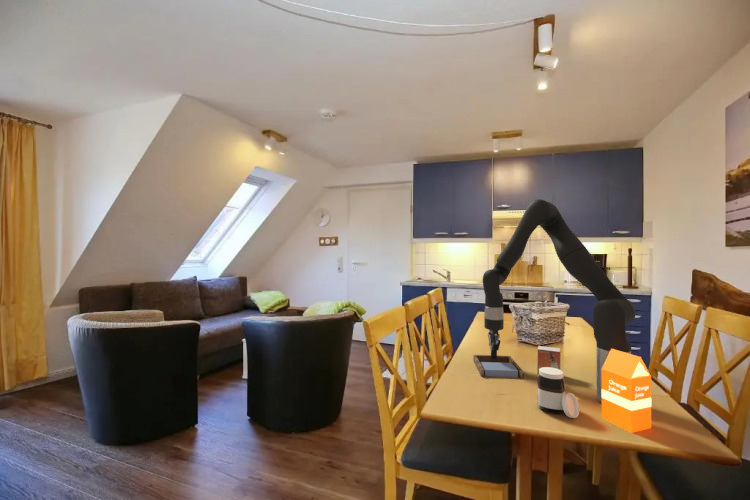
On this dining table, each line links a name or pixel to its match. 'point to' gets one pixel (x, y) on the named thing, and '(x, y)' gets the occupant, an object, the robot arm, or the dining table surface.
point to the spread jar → (555, 393)
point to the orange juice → (626, 391)
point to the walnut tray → (500, 359)
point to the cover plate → (499, 369)
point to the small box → (548, 357)
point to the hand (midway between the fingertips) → (493, 358)
